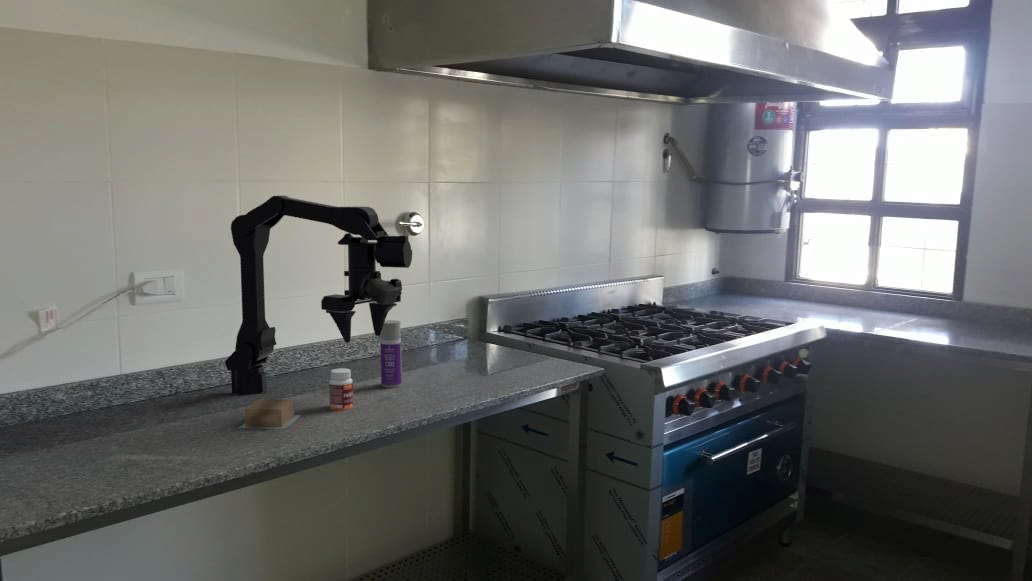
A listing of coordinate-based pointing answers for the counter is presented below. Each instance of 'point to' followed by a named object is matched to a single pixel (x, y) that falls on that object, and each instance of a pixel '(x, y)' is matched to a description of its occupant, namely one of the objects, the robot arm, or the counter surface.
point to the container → (391, 354)
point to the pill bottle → (341, 389)
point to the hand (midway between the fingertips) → (362, 338)
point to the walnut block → (269, 413)
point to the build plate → (273, 427)
